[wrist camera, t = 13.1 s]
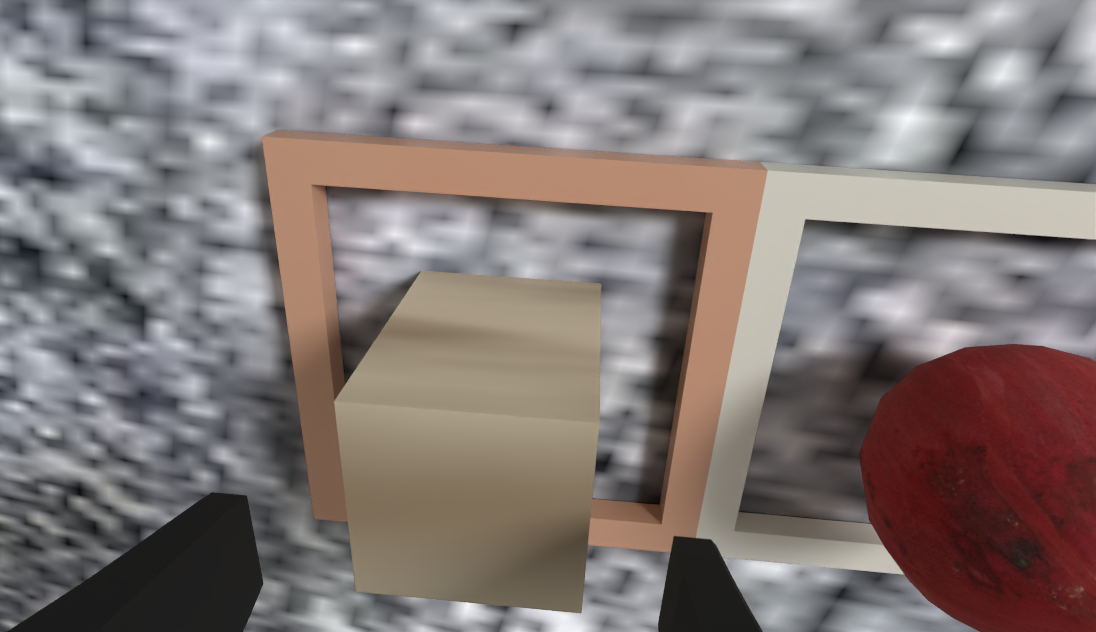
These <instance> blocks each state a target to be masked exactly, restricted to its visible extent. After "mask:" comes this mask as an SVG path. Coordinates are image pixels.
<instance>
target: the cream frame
mask: <svg viewBox="0 0 1096 632" xmlns="http://www.w3.org/2000/svg"><path fill="white" fill-rule="evenodd" d="M760 163H761V164H762V165H763V166H764V167H765V168H766V169H767V170H768V172H767V177H766V182H765V187H764V193H763V198H762V203H761V208H760V213H759V218H758V223H757V228H756V233H755V238H754V244H753V249H752V254H751V259H750V264H749V269H748V274H747V279H746V284H745V289H744V294H743V300H742V305H741V310H740V315H739V320H738V325H737V330H736V335H735V340H734V345H733V351H732V356H731V361H730V366H729V371H728V376H727V381H726V386H725V391H724V396H723V401H722V407H721V412H720V417H719V422H718V427H717V432H716V437H715V442H714V447H713V452H712V457H711V463H710V468H709V473H708V478H707V483H706V488H705V493H704V498H703V503H702V508H701V514H700V519H699V524H698V529H697V534H696V538H702V539H711V540H712V541H713V542H714V543H715V544H716V545H717V547H718V550H719V552H720V554H721V556H722V557H724V558H734V559H745V560H756V561H766V562H777V563H788V564H798V565H809V566H820V567H830V568H841V569H852V570H862V571H873V572H884V573H894V574H904V573H903V572H902V570H901V569H900V568H899V566H898V565H897V564H896V562H895V561H894V559H893V558H892V557H891V555H890V554H889V553H888V551H887V550H886V548H885V547H884V545H883V544H882V542H881V540H880V538H879V537H878V535H877V533H876V531H875V530H874V528H873V526H872V524H865V523H854V522H843V521H832V520H821V519H810V518H799V517H788V516H777V515H766V514H755V513H744V512H738V511H739V507H740V503H741V498H742V494H743V489H744V485H745V481H746V476H747V472H748V468H749V463H750V459H751V454H752V450H753V446H754V441H755V437H756V433H757V428H758V424H759V419H760V415H761V411H762V406H763V402H764V398H765V393H766V389H767V384H768V380H769V376H770V371H771V367H772V363H773V358H774V354H775V349H776V345H777V341H778V336H779V332H780V328H781V323H782V319H783V314H784V310H785V306H786V301H787V297H788V293H789V288H790V284H791V279H792V275H793V271H794V266H795V262H796V258H797V253H798V249H799V244H800V240H801V236H802V231H803V227H804V223H805V219H810V220H824V221H838V222H853V223H867V224H881V225H895V226H910V227H924V228H938V229H952V230H967V231H981V232H995V233H1009V234H1024V235H1038V236H1052V237H1066V238H1081V239H1095V240H1096V184H1083V183H1068V182H1053V181H1038V180H1023V179H1008V178H993V177H978V176H963V175H948V174H933V173H918V172H903V171H887V170H872V169H857V168H842V167H827V166H812V165H797V164H782V163H767V162H760Z"/></svg>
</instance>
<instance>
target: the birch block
mask: <svg viewBox="0 0 1096 632" xmlns="http://www.w3.org/2000/svg"><path fill="white" fill-rule="evenodd" d="M600 327H601V284H600V283H586V282H572V281H558V280H544V279H529V278H515V277H501V276H487V275H473V274H459V273H445V272H430V271H421V272H420V274H419V275H418V277H417V278H416V280H415V281H414V283H413V284H412V286H411V287H410V289H409V290H408V292H407V293H406V295H405V296H404V298H403V299H402V301H401V302H400V304H399V305H398V307H397V308H396V310H395V311H394V313H393V314H392V316H391V317H390V319H389V320H388V322H387V323H386V325H385V326H384V328H383V329H382V331H381V332H380V333H379V335H378V336H377V338H376V339H375V341H374V342H373V344H372V345H371V347H370V348H369V350H368V351H367V353H366V354H365V356H364V357H363V359H362V360H361V362H360V363H359V365H358V366H357V368H356V369H355V371H354V372H353V374H352V375H351V377H350V378H349V380H348V381H347V383H346V384H345V386H344V387H343V389H342V390H341V392H340V393H339V395H338V396H337V398H336V399H335V401H334V405H335V414H336V423H337V431H338V440H339V449H340V458H341V466H342V475H343V484H344V493H345V501H346V510H347V519H348V528H349V537H350V545H351V554H352V563H353V572H354V580H355V589H356V592H364V593H375V594H385V595H396V596H406V597H417V598H427V599H437V600H448V601H458V602H469V603H479V604H490V605H500V606H511V607H521V608H531V609H542V610H552V611H563V612H573V613H581V611H582V601H583V590H584V580H585V569H586V559H587V548H588V538H589V527H590V517H591V506H592V496H593V485H594V475H595V464H596V453H597V443H598V432H599V414H600Z"/></svg>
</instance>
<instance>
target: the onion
mask: <svg viewBox="0 0 1096 632" xmlns="http://www.w3.org/2000/svg"><path fill="white" fill-rule="evenodd" d="M859 458H860V464H861V471H862V477H863V484H864V490H865V497H866V503H867V510H868V516H869V521H870V522H871V524H872V526H873V528H874V530H875V531H876V533H877V535H878V537H879V538H880V540H881V542H882V544H883V545H884V547H885V548H886V550H887V551H888V553H889V554H890V555H891V557H892V558H893V559H894V561H895V562H896V564H897V565H898V566H899V568H900V569H901V570H902V572H903V573H904V574H905V576H906V577H907V579H908V580H909V581H910V582H911V583H912V584H913V585H914V586H915V587H916V588H917V589H918V590H919V591H920V592H921V593H922V595H923V596H924V597H925V598H926V599H927V600H928V601H930V602H931V603H932V604H934V605H935V606H937V607H938V608H940V609H941V610H942V611H944V612H945V613H947V614H948V615H950V616H951V617H952V618H954V619H956V620H958V621H960V622H962V623H964V624H966V625H968V626H970V627H972V628H974V629H976V630H978V631H980V632H1096V361H1094V360H1092V359H1090V358H1086V357H1082V356H1079V355H1075V354H1071V353H1067V352H1063V351H1059V350H1055V349H1051V348H1047V347H1044V346H1034V345H1019V344H1008V345H994V346H979V347H965V348H963V349H960V350H957V351H955V352H952V353H950V354H947V355H944V356H942V357H939V358H937V359H934V360H932V361H929V362H926V363H924V364H921V365H919V366H917V367H915V368H914V369H913V370H912V371H911V372H910V373H909V374H908V375H906V376H905V377H904V378H903V379H902V380H901V381H900V382H899V383H897V384H896V385H895V386H894V387H893V388H892V389H891V390H889V391H888V392H887V393H886V394H885V395H884V396H883V397H882V398H881V399H880V402H879V405H878V407H877V410H876V412H875V415H874V417H873V420H872V422H871V425H870V427H869V430H868V432H867V435H866V437H865V440H864V443H863V445H862V448H861V450H860V453H859Z"/></svg>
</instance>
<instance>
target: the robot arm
mask: <svg viewBox="0 0 1096 632" xmlns="http://www.w3.org/2000/svg"><path fill="white" fill-rule="evenodd" d="M262 586H263V579H262V574H261V569H260V563H259V558H258V553H257V547H256V542H255V537H254V531H253V526H252V521H251V515H250V510H249V505H248V500H247V496H245V495H234V494H224V493H213V492H212V493H210V494H209V495H207V496H206V497H204V498H203V499H201V500H200V501H198V502H197V503H195V504H194V505H193V506H191V507H190V508H188V509H187V510H185V511H184V512H183V513H181V514H180V515H178V516H177V517H175V518H174V519H173V520H171V521H170V522H168V523H167V524H166V525H164V526H163V527H161V528H160V529H159V530H157V531H156V532H154V533H153V534H152V535H150V536H149V537H147V538H146V539H145V540H143V541H142V542H140V543H139V544H138V545H136V546H135V547H133V548H132V549H130V550H129V551H128V552H126V553H125V554H123V555H122V556H120V557H119V558H118V559H116V560H115V561H113V562H112V563H110V564H109V565H107V566H106V567H105V568H103V569H102V570H100V571H99V572H97V573H96V574H95V575H93V576H92V577H90V578H89V579H87V580H86V581H84V582H83V583H81V584H80V585H78V586H77V587H75V588H74V589H72V590H71V591H69V592H68V593H66V594H65V595H63V596H61V597H60V598H58V599H57V600H55V601H54V602H52V603H51V604H49V605H48V606H46V607H44V608H43V609H41V610H40V611H38V612H37V613H35V614H34V615H32V616H31V617H29V618H28V619H26V620H24V621H23V622H21V623H20V624H18V625H17V626H15V627H14V628H12V629H11V630H9V631H7V632H243V630H244V628H245V626H246V623H247V621H248V619H249V617H250V614H251V612H252V610H253V607H254V605H255V602H256V600H257V598H258V595H259V593H260V590H261V588H262ZM658 630H659V632H763V631H762V629H761V628H760V626H759V624H758V623H757V621H756V619H755V617H754V616H753V614H752V612H751V610H750V609H749V607H748V605H747V603H746V601H745V600H744V598H743V596H742V594H741V592H740V591H739V589H738V587H737V585H736V583H735V581H734V579H733V578H732V576H731V574H730V572H729V570H728V568H727V566H726V564H725V562H724V560H723V558H722V556H721V554H720V552H719V550H718V547H717V545H716V544H715V543H714V542H713V541H712V540H711V539H702V538H692V537H681V536H673V542H672V548H671V554H670V559H669V565H668V571H667V576H666V582H665V588H664V593H663V599H662V605H661V611H660V616H659V622H658Z"/></svg>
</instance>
